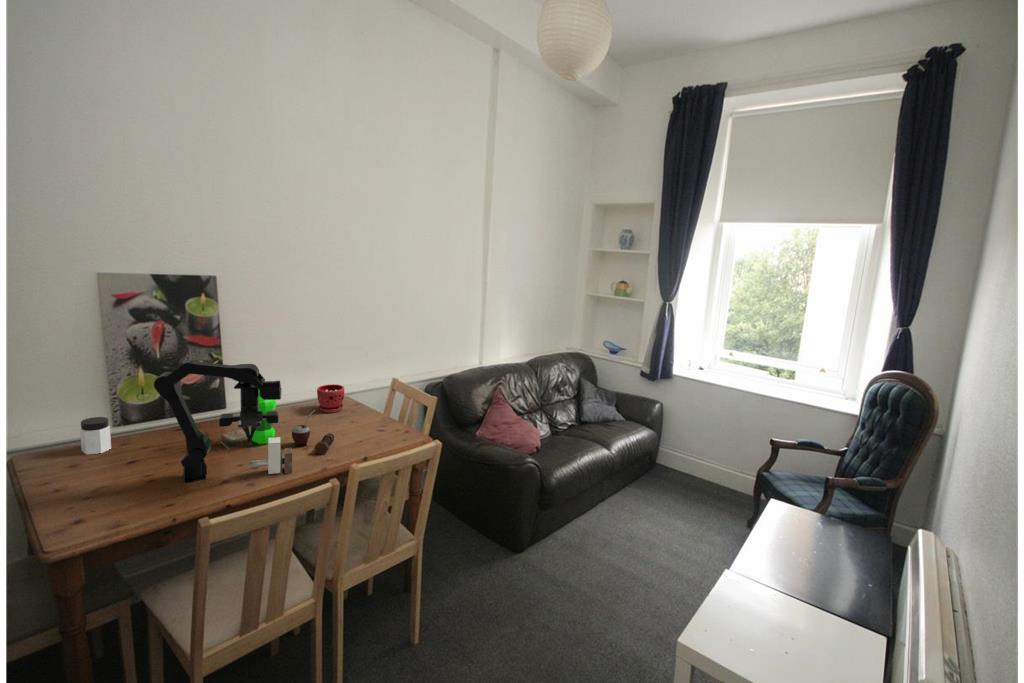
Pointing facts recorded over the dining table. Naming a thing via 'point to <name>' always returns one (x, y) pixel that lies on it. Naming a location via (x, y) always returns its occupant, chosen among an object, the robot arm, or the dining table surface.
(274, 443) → the white rectangular block
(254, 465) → the pipe
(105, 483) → the dining table surface
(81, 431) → the jar
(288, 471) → the pipe block
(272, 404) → the plastic bottle
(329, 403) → the plant pot
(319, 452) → the brown knobbed cylinder
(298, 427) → the mate gourd
